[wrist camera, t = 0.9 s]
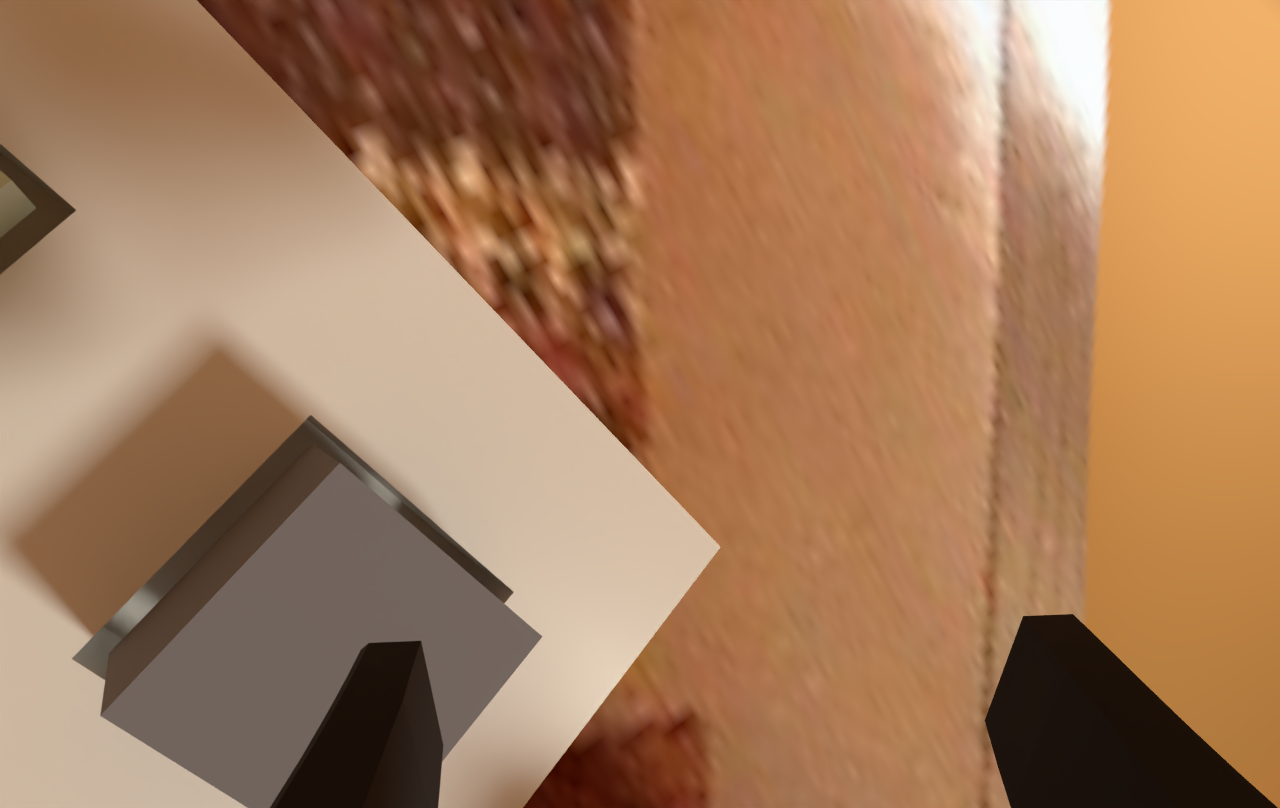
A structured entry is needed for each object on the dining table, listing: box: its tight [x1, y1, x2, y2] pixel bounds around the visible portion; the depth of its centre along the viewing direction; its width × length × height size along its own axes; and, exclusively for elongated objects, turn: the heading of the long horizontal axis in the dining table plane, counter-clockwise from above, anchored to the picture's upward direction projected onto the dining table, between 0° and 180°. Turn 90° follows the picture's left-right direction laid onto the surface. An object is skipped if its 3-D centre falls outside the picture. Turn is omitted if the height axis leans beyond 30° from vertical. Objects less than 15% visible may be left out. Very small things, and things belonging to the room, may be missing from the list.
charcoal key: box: [100, 444, 542, 808], centre depth 16 cm, size 5×5×3 cm
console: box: [0, 0, 720, 808], centre depth 17 cm, size 14×24×4 cm, turn 45°
